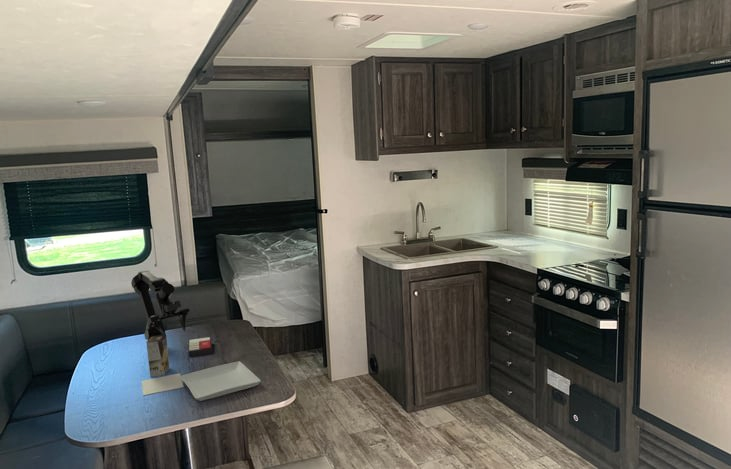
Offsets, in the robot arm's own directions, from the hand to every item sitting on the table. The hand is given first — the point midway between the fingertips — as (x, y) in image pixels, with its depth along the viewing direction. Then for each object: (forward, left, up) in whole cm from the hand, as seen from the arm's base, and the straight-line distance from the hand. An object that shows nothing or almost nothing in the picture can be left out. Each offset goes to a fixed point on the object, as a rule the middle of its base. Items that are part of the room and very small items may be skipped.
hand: (175, 333), depth 254 cm
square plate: (+32, -19, -16) cm, 41 cm away
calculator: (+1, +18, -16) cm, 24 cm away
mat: (+6, -22, -15) cm, 27 cm away
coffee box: (-3, -10, -15) cm, 19 cm away
